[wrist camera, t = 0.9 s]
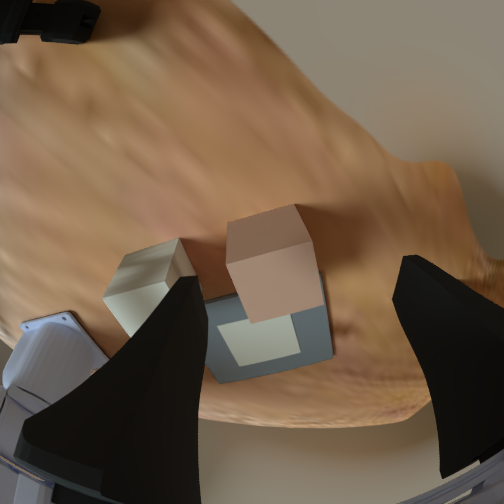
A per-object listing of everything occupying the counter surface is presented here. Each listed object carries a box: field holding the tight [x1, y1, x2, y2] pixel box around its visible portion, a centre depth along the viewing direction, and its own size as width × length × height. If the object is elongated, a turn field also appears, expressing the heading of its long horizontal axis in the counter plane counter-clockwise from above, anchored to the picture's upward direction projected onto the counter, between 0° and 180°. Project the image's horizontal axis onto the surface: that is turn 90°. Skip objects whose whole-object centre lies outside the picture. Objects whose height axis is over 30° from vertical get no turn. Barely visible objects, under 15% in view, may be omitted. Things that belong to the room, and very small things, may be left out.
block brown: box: [226, 204, 324, 324], centre depth 18 cm, size 4×4×5 cm
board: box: [204, 271, 333, 384], centre depth 24 cm, size 12×11×1 cm
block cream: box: [102, 238, 203, 337], centre depth 18 cm, size 4×4×5 cm
